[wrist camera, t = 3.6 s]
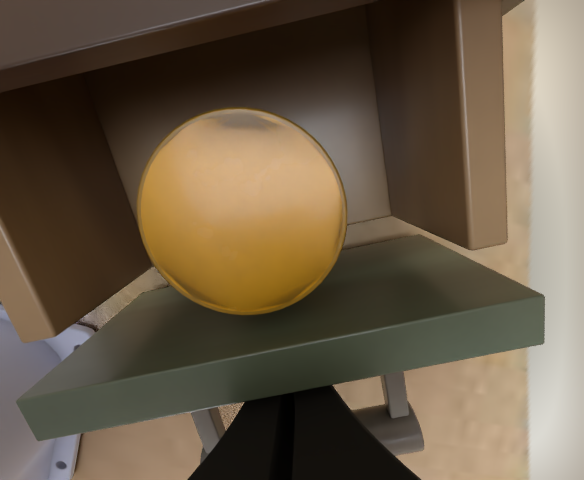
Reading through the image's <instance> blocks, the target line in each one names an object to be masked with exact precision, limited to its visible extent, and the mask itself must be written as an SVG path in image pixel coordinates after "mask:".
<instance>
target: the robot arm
mask: <svg viewBox="0 0 584 480" xmlns="http://www.w3.org/2000/svg"><path fill="white" fill-rule="evenodd" d="M95 333H96V332H95V331H94V330H93V329H91V328H89V327H86V326H82V325H78V324H73V325H71V326H70V327H69V328H67V329H66V330H64V331H63V332H62V333H60V334H59V335H57V336H56V337H53V338H48V339H43V340H38V341H34V342H29V343H23V342H21V340H20V338H19V336H18V334H17V332H16V330H15V328H14V326H13V324H12V322H11V320H10V319H9V317H8V315H7V313H6V311H5V309H4V307H3V305H1V304H0V480H71V479H72V477H73V475H74V470H75V465H76V459H77V453H78V447H79V442H80V436H81V433H80V434H75V435H70V436H65V437H60V438H55V439H49V440H44V441H37V440H36V438H35V436H34V434H33V432H32V431H31V429H30V427H29V425H28V424H27V422H26V420H25V418H24V416H23V415H22V413H21V411H20V409H19V407H18V406H17V404H16V400H17V399H18V398H20V397H21V396H22V395H23V394H24V393H25V392H27V391H28V390H29V389H30V388H31V387H32V386H34V385H35V384H36V383H37V382H38V381H39V380H41V379H42V378H43V377H44V376H45V375H46V374H48V373H49V372H50V371H51V370H52V369H54V368H55V367H56V366H57V365H58V364H59V363H61V362H62V361H63V360H64V359H65V358H66V357H68V356H69V355H70V354H71V353H72V352H73V351H75V350H76V349H77V348H78V347H79V346H80V345H82V344H83V343H84V342H85V341H86V340H88V339H89V338H90V337H91V336H92V335H93V334H95ZM188 480H421V479H420V478H419V477H418V476H416V475H415V474H414V473H413V472H412V471H411V470H410V469H408V468H407V467H406V466H405V465H404V464H403V463H402V462H401V461H399V460H398V459H397V458H396V457H395V456H394V455H393V454H392V453H391V452H390V451H389V450H388V449H387V448H386V447H385V446H384V445H383V444H382V443H381V442H380V441H379V440H378V439H377V438H376V437H375V436H374V435H373V434H372V433H371V432H370V431H369V430H368V429H367V428H366V427H365V426H364V425H363V424H362V422H361V421H360V420H359V419H358V418H357V417H356V416H355V414H354V413H353V412H352V411H351V410H350V408H349V407H348V406H347V405H346V403H345V402H344V401H343V400H342V398H341V397H340V395H339V394H338V393H337V391H336V390H335V389H334V387H333V386H332V385H329V386H324V387H318V388H313V389H308V390H303V391H298V392H293V393H287V394H282V395H277V396H272V397H267V398H261V399H256V400H251V401H246V402H245V403H244V404H243V406H242V407H241V409H240V411H239V412H238V414H237V415H236V417H235V419H234V420H233V422H232V423H231V425H230V426H229V428H228V429H227V430H226V432H225V433H224V435H223V436H222V437H221V439H220V440H219V442H218V443H217V444H216V446H215V447H214V448H213V450H212V451H211V452H210V453H209V455H208V456H207V457H206V458H205V459H204V461H203V462H202V463H201V464H200V465H199V467H198V468H197V469H196V470H195V471H194V473H193V474H192V475H191V476H190V477H189V478H188Z"/></svg>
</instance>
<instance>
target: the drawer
mask: <svg viewBox="0 0 584 480" xmlns="http://www.w3.org/2000/svg"><path fill="white" fill-rule="evenodd" d="M226 107H249V108H257V109H262V110H265V111H269V112H273V113H275V114H278V115H280V116H282V117H285V118H287V119H289V120H291V121H292V122H294V123H296V124H297V125H299V126H301V127H302V128H303V129H304V130H306V131H307V132H308V133H309V134H311V135H312V136H313V137H314V138H315V139H316V140H317V141H318V142H319V143H320V144H321V146H322V147H323V148H324V149H325V151H326V152H327V153H328V155H329V156H330V158H331V159H332V161H333V163H334V165H335V166H336V168H337V170H338V172H339V175H340V178H341V180H342V183H343V186H344V190H345V195H346V200H347V210H348V216H347V225H351V224H356V223H360V222H365V221H370V220H374V219H379V218H384V217H388V216H394V217H396V218H398V219H401V220H403V221H405V222H407V223H410V224H412V225H414V226H416V227H419V228H421V229H423V230H425V231H428V232H430V233H432V234H434V235H437V236H439V237H441V238H443V239H446V240H448V241H450V242H452V243H455V244H457V245H459V246H461V247H464V248H466V249H468V250H477V249H482V248H487V247H492V246H496V245H501V244H505V243H507V240H508V233H507V195H506V156H505V117H504V79H503V40H502V1H501V0H380V1H376V2H372V3H368V4H364V5H360V6H356V7H351V8H347V9H343V10H339V11H335V12H331V13H327V14H323V15H318V16H314V17H310V18H306V19H302V20H298V21H294V22H290V23H285V24H281V25H277V26H273V27H269V28H265V29H261V30H256V31H252V32H248V33H244V34H240V35H236V36H232V37H228V38H223V39H219V40H215V41H211V42H207V43H203V44H199V45H194V46H190V47H186V48H182V49H178V50H174V51H170V52H166V53H161V54H157V55H153V56H149V57H145V58H141V59H137V60H133V61H128V62H124V63H120V64H116V65H112V66H108V67H104V68H99V69H95V70H91V71H87V72H83V73H79V74H75V75H71V76H66V77H62V78H58V79H54V80H50V81H46V82H42V83H38V84H33V85H29V86H25V87H21V88H17V89H13V90H9V91H4V92H0V301H1V303H2V305H3V307H4V309H5V311H6V313H7V315H8V317H9V319H10V320H11V322H12V324H13V326H14V328H15V330H16V332H17V334H18V336H19V338H20V340H21V342H23V343H29V342H34V341H38V340H43V339H48V338H53V337H56V336H57V335H59V334H60V333H62V332H63V331H64V330H66V329H67V328H69V327H70V326H71V325H73V324H74V323H75V322H77V321H78V320H80V319H81V318H82V317H84V316H85V315H86V314H88V313H89V312H91V311H92V310H93V309H95V308H96V307H98V306H99V305H100V304H102V303H103V302H104V301H106V300H107V299H109V298H110V297H111V296H113V295H114V294H116V293H117V292H118V291H120V290H121V289H122V288H124V287H125V286H127V285H128V284H129V283H131V282H132V281H133V280H135V279H136V278H138V277H139V276H140V275H142V274H143V273H145V272H146V271H147V270H149V269H150V268H151V267H154V264H153V262H152V261H151V259H150V257H149V256H148V253H147V251H146V249H145V247H144V244H143V242H142V238H141V235H140V231H139V226H138V220H137V195H138V187H139V184H140V180H141V176H142V173H143V171H144V168H145V166H146V164H147V161H148V160H149V158H150V156H151V155H152V153H153V151H154V150H155V148H156V147H157V146H158V145H159V143H160V142H161V141H162V140H163V139H164V138H165V137H166V136H167V135H168V134H169V133H170V132H171V131H172V130H173V129H174V128H176V127H177V126H179V125H180V124H182V123H183V122H185V121H186V120H188V119H190V118H192V117H194V116H196V115H199V114H201V113H204V112H208V111H211V110H214V109H220V108H226ZM544 315H545V297H544V295H542V294H540V293H538V292H536V291H534V290H532V289H530V288H528V287H526V286H524V285H522V284H520V283H518V282H516V281H514V280H512V279H510V278H508V277H506V276H504V275H502V274H500V273H498V272H496V271H494V270H492V269H489V268H487V267H485V266H483V265H481V264H479V263H477V262H475V261H473V260H471V259H469V258H467V257H465V256H463V255H461V254H459V253H457V252H455V251H453V250H451V249H449V248H447V247H445V246H443V245H441V244H439V243H436V242H434V241H432V240H430V239H428V238H426V237H424V236H422V235H420V234H418V235H413V236H409V237H404V238H399V239H394V240H390V241H385V242H380V243H375V244H371V245H366V246H361V247H356V248H352V249H347V250H342V251H341V252H340V254H339V257H338V259H337V261H336V263H335V265H334V266H333V268H332V269H331V271H330V273H329V274H328V275H327V276H326V278H325V279H324V280H323V281H322V283H321V284H320V285H319V286H317V287H316V288H315V289H314V290H313V291H312V292H311V293H309V294H308V295H307V296H305V297H304V298H303V299H301V300H299V301H298V302H296V303H294V304H292V305H290V306H288V307H285V308H283V309H280V310H277V311H273V312H270V313H265V314H258V315H235V314H227V313H223V312H218V311H215V310H212V309H209V308H206V307H204V306H202V305H200V304H197V303H195V302H193V301H192V300H190V299H189V298H187V297H185V296H184V295H182V294H181V293H180V292H179V291H177V290H176V289H175V288H174V287H172V286H171V287H166V288H162V289H157V290H152V291H147V292H143V293H141V294H140V295H139V296H138V297H137V298H136V299H134V300H133V301H132V302H131V303H130V304H129V305H127V306H126V307H125V308H124V309H123V310H122V311H120V312H119V313H118V314H117V315H116V316H115V317H113V318H112V319H111V320H110V321H109V322H107V323H106V324H105V325H104V326H103V327H102V328H100V329H99V330H98V331H97V332H96V333H95V334H93V335H92V336H91V337H90V338H89V339H88V340H86V341H85V342H84V343H83V344H82V345H81V346H79V347H78V348H77V349H76V350H75V351H73V352H72V353H71V354H70V355H69V356H68V357H66V358H65V359H64V360H63V361H62V362H61V363H59V364H58V365H57V366H56V367H55V368H54V369H52V370H51V371H50V372H49V373H48V374H46V375H45V376H44V377H43V378H42V379H41V380H39V381H38V382H37V383H36V384H35V385H34V386H32V387H31V388H30V389H29V390H28V391H27V392H25V393H24V394H23V395H22V396H21V397H20V398H18V399H17V400H16V404H17V406H18V407H19V409H20V411H21V413H22V415H23V416H24V418H25V420H26V422H27V424H28V425H29V427H30V429H31V431H32V432H33V434H34V436H35V438H36V440H37V441H44V440H49V439H55V438H60V437H65V436H70V435H75V434H80V433H86V432H91V431H96V430H101V429H106V428H111V427H117V426H122V425H127V424H132V423H137V422H143V421H148V420H153V419H158V418H163V417H168V416H174V415H179V414H184V413H189V412H191V415H192V417H193V420H194V423H195V425H196V428H197V431H198V433H199V436H200V439H201V441H202V444H203V449H202V453H201V461H200V464H201V463H202V462H203V461H204V459H205V458H206V457H207V456H208V455H209V453H210V452H211V451H212V450H213V448H214V447H215V446H216V444H217V443H218V442H219V440H220V439H221V437H222V436H223V435H224V433H225V432H226V430H225V427H224V424H223V422H222V419H221V416H220V413H219V410H218V407H220V406H225V405H230V404H236V403H241V402H246V401H251V400H256V399H261V398H267V397H272V396H277V395H282V394H287V393H293V392H298V391H303V390H308V389H313V388H318V387H324V386H329V385H334V384H339V383H344V382H349V381H355V380H360V379H365V378H370V377H375V376H380V375H381V382H382V388H383V394H384V400H385V404H383V405H378V406H372V407H367V408H362V409H357V410H351V411H352V412H353V413H354V414H355V416H356V417H357V418H358V419H359V420H360V421H361V422H362V424H363V425H364V426H365V427H366V428H367V429H368V430H369V431H370V432H371V433H372V434H373V435H374V436H375V437H376V438H377V439H378V440H379V441H380V442H381V443H382V444H383V445H384V446H385V447H386V448H387V449H388V450H389V451H390V452H391V453H392V454H393V455H394V456H398V455H403V454H409V453H414V452H419V451H423V450H424V440H423V435H422V432H421V428H420V425H419V422H418V420H417V417H416V415H415V412H414V410H413V408H412V407H411V405H410V403H409V402H408V401H407V394H406V387H405V380H404V373H403V371H406V370H411V369H417V368H422V367H427V366H432V365H437V364H442V363H448V362H453V361H458V360H463V359H468V358H474V357H479V356H484V355H489V354H494V353H499V352H505V351H510V350H515V349H520V348H525V347H530V346H536V345H541V344H543V343H544V321H545V318H544V317H545V316H544Z"/></svg>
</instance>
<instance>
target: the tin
mask: <svg viewBox="0 0 584 480" xmlns="http://www.w3.org/2000/svg"><path fill="white" fill-rule="evenodd" d="M347 216H348V210H347V200H346V195H345V190H344V186H343V183H342V180H341V178H340V175H339V172H338V170H337V168H336V166H335V165H334V163H333V161H332V159H331V158H330V156H329V155H328V153H327V152H326V151H325V149H324V148H323V147H322V146H321V144H320V143H319V142H318V141H317V140H316V139H315V138H314V137H313V136H312V135H311V134H309V133H308V132H307V131H306V130H304V129H303V128H302V127H301V126H299V125H297V124H296V123H294V122H292V121H291V120H289V119H287V118H285V117H282V116H280V115H278V114H275V113H273V112H269V111H265V110H262V109H257V108H249V107H226V108H220V109H214V110H211V111H208V112H204V113H201V114H199V115H196V116H194V117H192V118H190V119H188V120H186V121H185V122H183V123H182V124H180V125H179V126H177V127H176V128H174V129H173V130H172V131H171V132H170V133H169V134H168V135H167V136H166V137H165V138H164V139H163V140H162V141H161V142H160V143H159V145H158V146H157V147H156V148H155V150H154V151H153V153H152V155H151V156H150V158H149V160H148V161H147V164H146V166H145V168H144V171H143V173H142V176H141V180H140V184H139V187H138V195H137V220H138V226H139V231H140V235H141V238H142V242H143V244H144V247H145V249H146V251H147V253H148V256H149V257H150V259H151V261H152V262H153V264H154V266H155V267H156V269H157V270H158V271H159V272H160V274H161V275H162V276H163V278H164V279H165V280H166V281H167V282H168V283H169V284H170V285H171V286H172V287H174V288H175V289H176V290H177V291H179V292H180V293H181V294H182V295H184V296H185V297H187V298H189V299H190V300H192V301H193V302H195V303H197V304H200V305H202V306H204V307H206V308H209V309H212V310H215V311H218V312H223V313H227V314H235V315H258V314H265V313H270V312H273V311H277V310H280V309H283V308H285V307H288V306H290V305H292V304H294V303H296V302H298V301H299V300H301V299H303V298H304V297H305V296H307V295H308V294H309V293H311V292H312V291H313V290H314V289H315V288H316V287H317V286H319V285H320V284H321V283H322V281H323V280H324V279H325V278H326V276H327V275H328V274H329V273H330V271H331V269H332V268H333V266H334V265H335V263H336V261H337V259H338V257H339V254H340V252H341V250H342V246H343V243H344V240H345V235H346V229H347Z"/></svg>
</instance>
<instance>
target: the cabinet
mask: <svg viewBox="0 0 584 480" xmlns="http://www.w3.org/2000/svg"><path fill="white" fill-rule="evenodd" d="M376 1H380V0H0V92H4V91H9V90H13V89H17V88H21V87H25V86H29V85H33V84H38V83H42V82H46V81H50V80H54V79H58V78H62V77H66V76H71V75H75V74H79V73H83V72H87V71H91V70H95V69H99V68H104V67H108V66H112V65H116V64H120V63H124V62H128V61H133V60H137V59H141V58H145V57H149V56H153V55H157V54H161V53H166V52H170V51H174V50H178V49H182V48H186V47H190V46H194V45H199V44H203V43H207V42H211V41H215V40H219V39H223V38H228V37H232V36H236V35H240V34H244V33H248V32H252V31H256V30H261V29H265V28H269V27H273V26H277V25H281V24H285V23H290V22H294V21H298V20H302V19H306V18H310V17H314V16H318V15H323V14H327V13H331V12H335V11H339V10H343V9H347V8H351V7H356V6H360V5H364V4H368V3H372V2H376ZM501 1H502V16H503V15H504V14H506V13H507V12H509V11H510V10H512V9H513V8H514V7H516V6H517V5H519V4H520V3H521V2H523V1H524V0H501Z"/></svg>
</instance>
